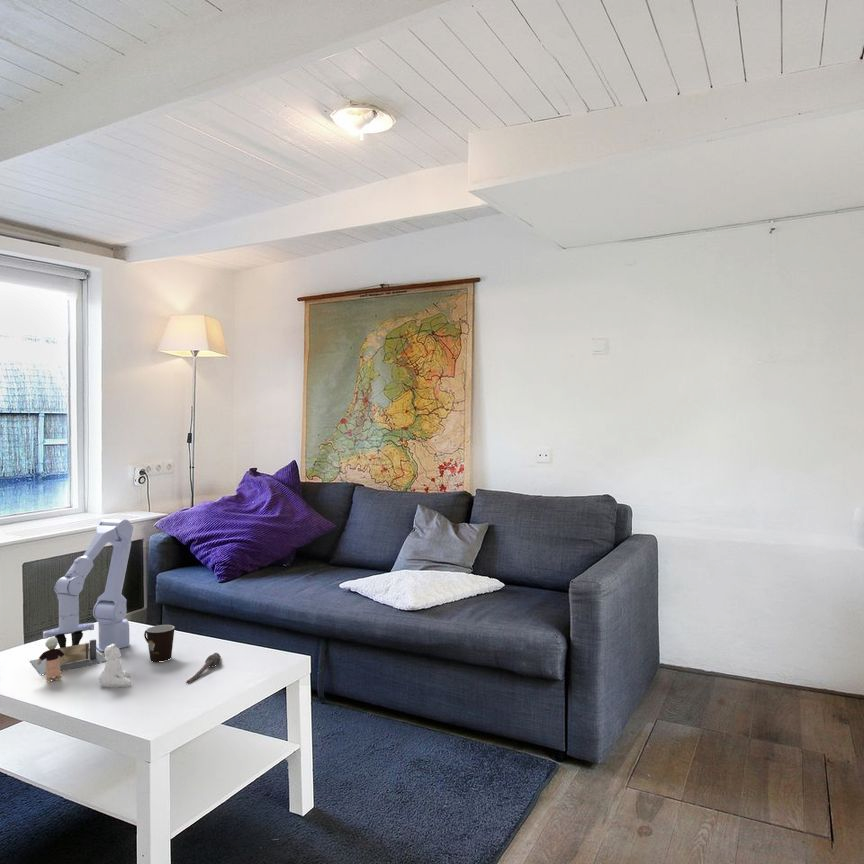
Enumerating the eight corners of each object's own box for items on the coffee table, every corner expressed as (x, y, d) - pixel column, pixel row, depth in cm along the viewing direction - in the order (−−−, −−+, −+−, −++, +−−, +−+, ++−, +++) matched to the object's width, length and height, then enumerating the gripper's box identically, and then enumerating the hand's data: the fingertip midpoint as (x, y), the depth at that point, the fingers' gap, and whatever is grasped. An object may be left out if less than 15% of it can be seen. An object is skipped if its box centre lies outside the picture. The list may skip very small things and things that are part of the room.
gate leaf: (88, 657, 223) (88, 642, 223) (89, 658, 222) (89, 643, 222) (47, 666, 215) (46, 650, 214) (48, 667, 214) (47, 651, 214)
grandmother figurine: (63, 674, 209) (63, 633, 209) (67, 677, 207) (67, 636, 206) (35, 681, 204) (35, 639, 204) (39, 684, 201) (39, 641, 201)
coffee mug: (177, 660, 222) (177, 629, 222) (149, 665, 217) (149, 634, 217) (169, 650, 231) (168, 621, 231) (142, 655, 227) (141, 625, 226)
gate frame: (93, 649, 234) (92, 628, 234) (107, 661, 221) (107, 639, 221) (29, 661, 222) (29, 639, 222) (41, 675, 209) (40, 652, 209)
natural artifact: (224, 663, 223) (230, 653, 223) (188, 686, 201) (195, 675, 200) (215, 655, 224) (222, 646, 223) (178, 678, 201) (186, 667, 201)
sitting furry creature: (131, 687, 199) (131, 646, 199) (99, 692, 195) (98, 650, 195) (130, 676, 207) (130, 637, 207) (98, 681, 203) (98, 641, 203)
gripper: (89, 607, 228) (90, 648, 228) (40, 615, 218) (41, 657, 219) (95, 611, 222) (96, 653, 223) (45, 620, 213) (46, 663, 213)
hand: (69, 656), depth 220 cm, fingers closed on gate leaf, 2 cm apart
